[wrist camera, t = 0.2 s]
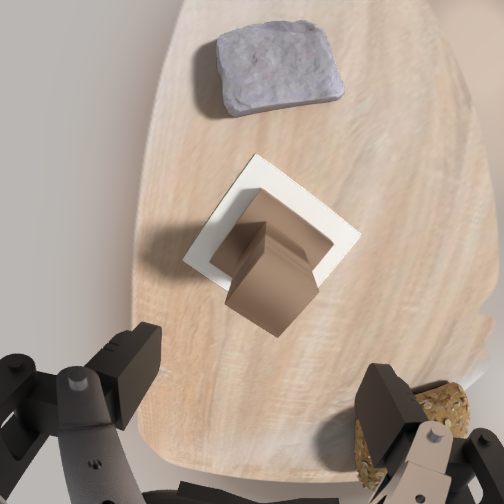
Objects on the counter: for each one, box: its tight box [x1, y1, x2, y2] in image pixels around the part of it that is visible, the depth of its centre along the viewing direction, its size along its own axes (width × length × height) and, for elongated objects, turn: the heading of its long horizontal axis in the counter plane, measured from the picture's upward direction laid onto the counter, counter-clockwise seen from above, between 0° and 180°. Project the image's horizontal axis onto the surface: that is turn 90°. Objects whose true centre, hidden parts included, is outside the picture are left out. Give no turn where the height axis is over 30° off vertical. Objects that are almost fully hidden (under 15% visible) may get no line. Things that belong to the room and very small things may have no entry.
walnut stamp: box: [209, 188, 334, 338], centre depth 26 cm, size 9×9×12 cm
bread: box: [354, 382, 470, 491], centre depth 34 cm, size 24×21×12 cm
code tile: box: [182, 154, 361, 291], centre depth 31 cm, size 14×14×1 cm
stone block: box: [216, 20, 345, 117], centre depth 25 cm, size 12×5×10 cm
